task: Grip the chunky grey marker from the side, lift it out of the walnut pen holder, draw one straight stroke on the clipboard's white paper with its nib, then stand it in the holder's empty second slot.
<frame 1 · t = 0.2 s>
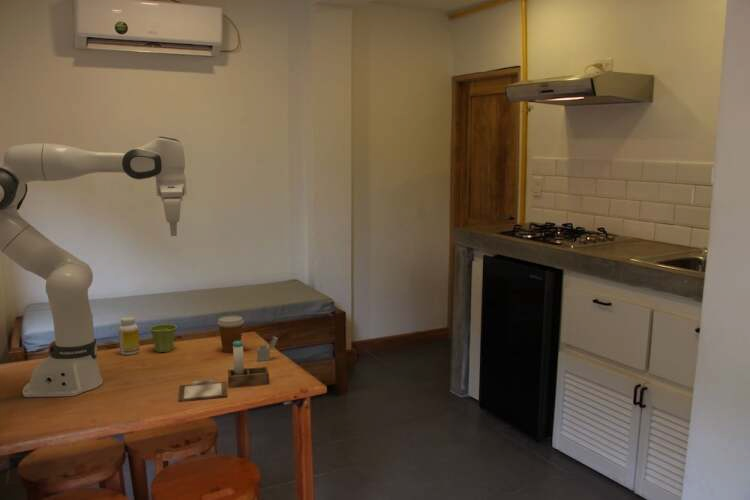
hand: (173, 233, 200), 47 cm above the table, tool pointing down, fingers open, 8 cm apart
lighter: (267, 360, 225), on the table
plant pot: (164, 350, 235), on the table
disposable coffee cup: (231, 350, 235), on the table
pen holder: (248, 382, 203), on the table
supplement bottle: (129, 353, 232), on the table
marker: (239, 382, 203), resting in pen holder
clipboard: (203, 392, 195), on the table
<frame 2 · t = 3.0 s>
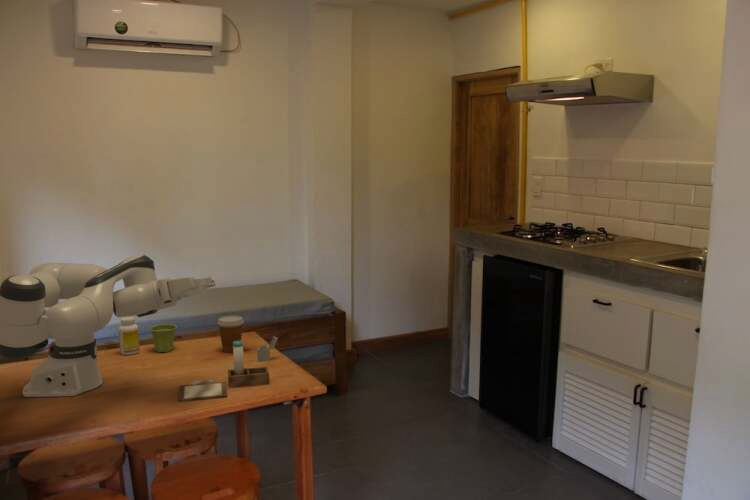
hand: (213, 281, 193), 34 cm above the table, tool horizontal, fingers open, 8 cm apart
nothing on the table moved.
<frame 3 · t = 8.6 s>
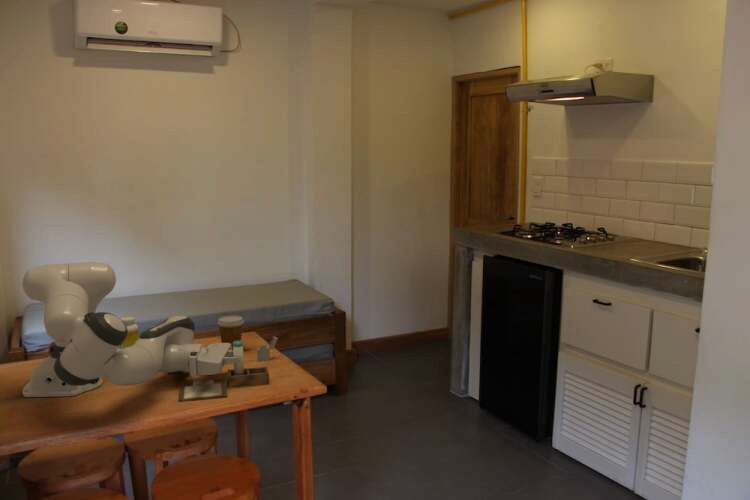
hand: (241, 357, 201), 9 cm above the table, tool horizontal, fingers closed on marker, 3 cm apart
marker: (239, 382, 203), resting in pen holder, touching gripper
everything else where it was.
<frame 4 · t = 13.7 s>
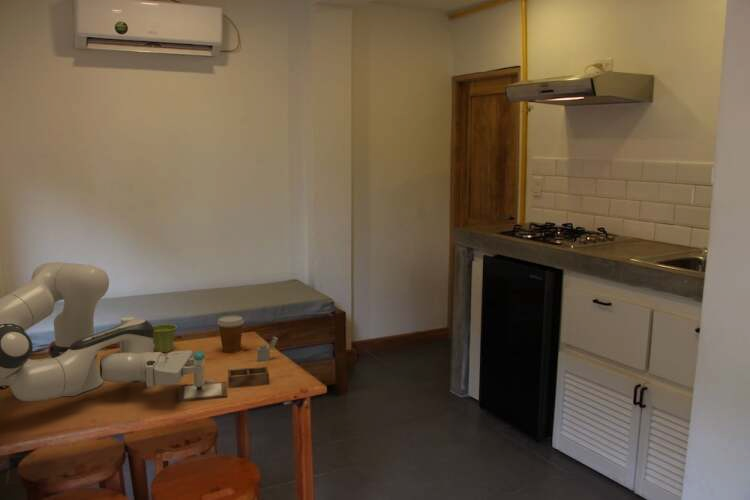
hand: (202, 366, 191), 9 cm above the table, tool horizontal, fingers closed on marker, 4 cm apart
marker: (199, 388, 196), point 1 cm above the table, tilted 22°, touching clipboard, gripper
everything else where it was.
when the fingers open (10 cm above the table, at t = 18.9 s): marker stays where it is, resting in pen holder.
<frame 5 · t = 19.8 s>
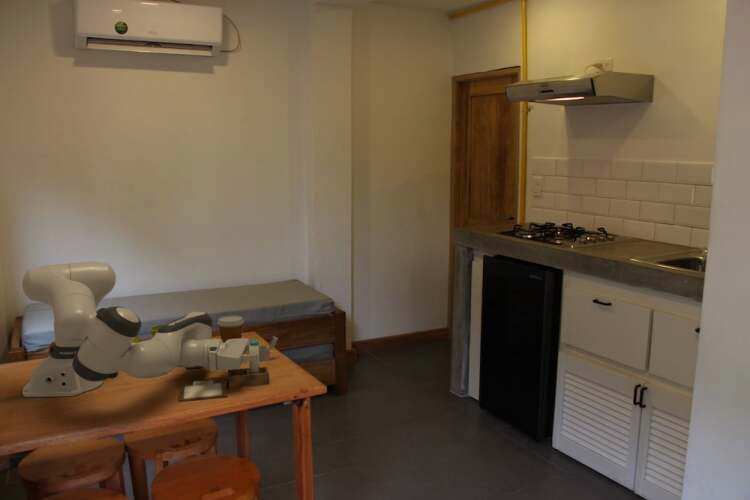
hand: (259, 352, 203), 10 cm above the table, tool horizontal, fingers open, 8 cm apart
marker: (254, 381, 204), resting in pen holder
everything else where it was.
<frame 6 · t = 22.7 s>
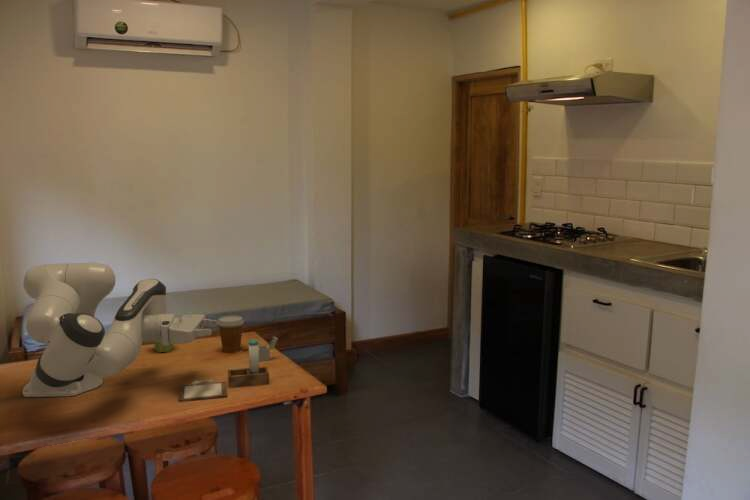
hand: (214, 327, 201), 18 cm above the table, tool horizontal, fingers open, 8 cm apart
nothing on the table moved.
at the end: marker 1.1 cm from the target spot on the pen holder, point 0.0 cm above the pen holder's base; marker tilted 0°; the gripper is holding nothing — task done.
